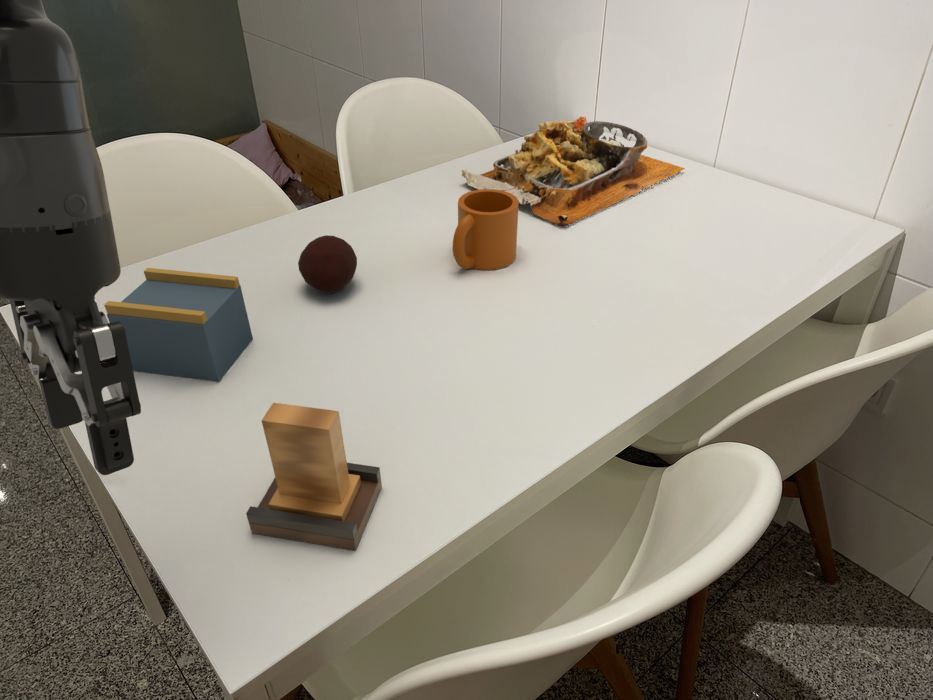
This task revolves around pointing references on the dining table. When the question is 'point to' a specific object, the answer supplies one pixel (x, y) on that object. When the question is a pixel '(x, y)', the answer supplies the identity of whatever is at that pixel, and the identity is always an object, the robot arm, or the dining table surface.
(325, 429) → the wooden pedestal block
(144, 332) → the blue railed block
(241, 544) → the dining table surface
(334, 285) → the dark maroon ball
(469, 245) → the mug
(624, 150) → the food tray
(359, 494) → the brown u-shaped block
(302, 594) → the dining table surface
